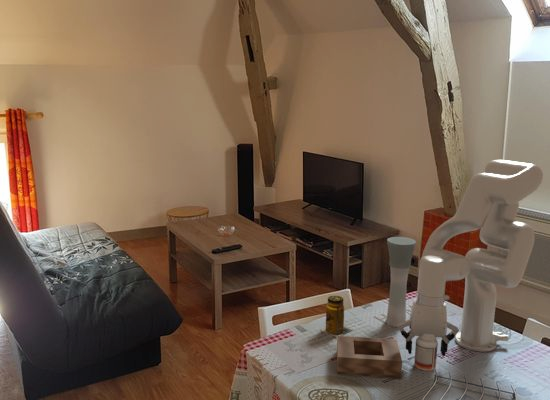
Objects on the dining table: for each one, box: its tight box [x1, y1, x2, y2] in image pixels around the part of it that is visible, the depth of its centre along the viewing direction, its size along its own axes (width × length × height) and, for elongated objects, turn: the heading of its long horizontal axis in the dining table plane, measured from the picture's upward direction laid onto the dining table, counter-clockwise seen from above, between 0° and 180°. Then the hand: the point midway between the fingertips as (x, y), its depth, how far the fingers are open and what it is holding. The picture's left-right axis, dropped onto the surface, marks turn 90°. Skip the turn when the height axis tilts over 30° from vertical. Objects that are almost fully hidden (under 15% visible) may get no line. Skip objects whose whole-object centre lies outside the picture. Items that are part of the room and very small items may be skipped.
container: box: [385, 236, 417, 328], centre depth 179 cm, size 10×10×30 cm
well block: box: [336, 335, 403, 380], centre depth 153 cm, size 18×13×6 cm
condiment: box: [320, 295, 353, 338], centre depth 174 cm, size 7×8×12 cm
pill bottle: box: [414, 334, 439, 372], centre depth 152 cm, size 6×6×11 cm
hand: (425, 352), depth 153 cm, fingers open, 9 cm apart
